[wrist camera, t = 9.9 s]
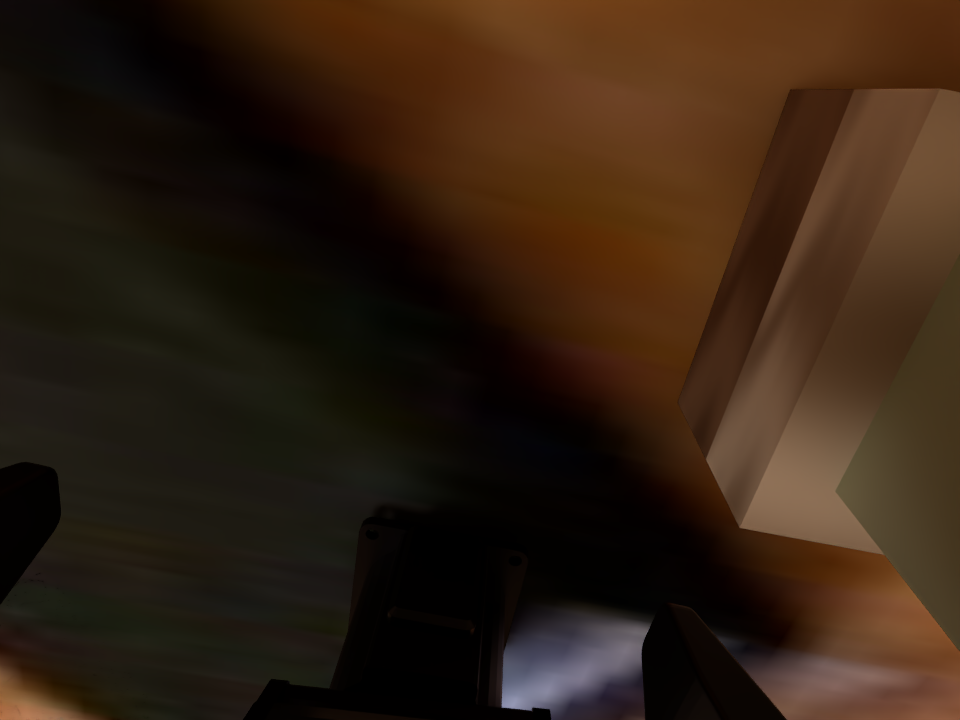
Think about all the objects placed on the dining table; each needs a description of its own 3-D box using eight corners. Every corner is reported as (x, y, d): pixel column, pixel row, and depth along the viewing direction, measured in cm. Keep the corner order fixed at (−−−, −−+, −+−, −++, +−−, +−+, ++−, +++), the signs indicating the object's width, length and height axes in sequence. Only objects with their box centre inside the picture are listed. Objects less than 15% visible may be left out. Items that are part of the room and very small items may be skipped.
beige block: (903, 444, 21) (1054, 586, 15) (677, 402, 21) (739, 528, 15) (1072, 144, 17) (1378, 174, 11) (790, 89, 16) (939, 88, 11)
